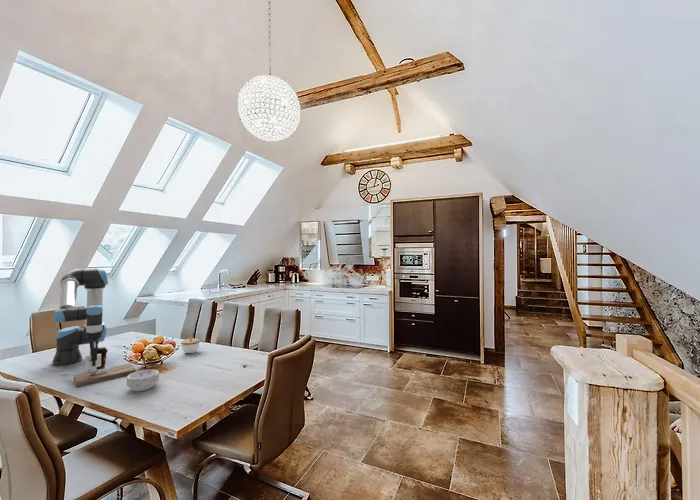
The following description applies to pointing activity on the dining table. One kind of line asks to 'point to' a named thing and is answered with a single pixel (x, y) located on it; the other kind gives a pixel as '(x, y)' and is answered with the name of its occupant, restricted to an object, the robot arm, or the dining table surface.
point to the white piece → (88, 364)
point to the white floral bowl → (142, 379)
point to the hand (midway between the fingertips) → (93, 370)
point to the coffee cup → (102, 357)
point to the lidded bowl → (190, 345)
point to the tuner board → (103, 375)
